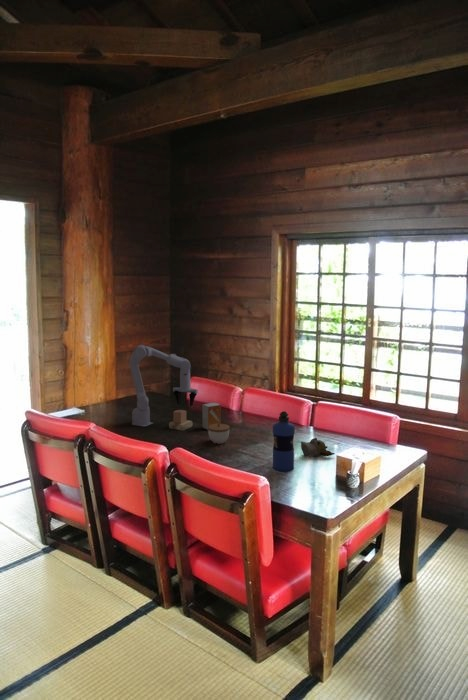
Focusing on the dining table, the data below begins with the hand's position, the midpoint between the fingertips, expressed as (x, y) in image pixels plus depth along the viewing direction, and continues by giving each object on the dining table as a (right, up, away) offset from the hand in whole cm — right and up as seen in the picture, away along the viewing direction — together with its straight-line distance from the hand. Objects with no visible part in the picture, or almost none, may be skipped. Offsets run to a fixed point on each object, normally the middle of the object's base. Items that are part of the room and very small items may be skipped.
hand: (185, 404), depth 296 cm
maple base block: (-2, -12, -7) cm, 14 cm away
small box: (+15, -12, -8) cm, 21 cm away
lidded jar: (+20, -15, -31) cm, 40 cm away
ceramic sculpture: (+65, -18, -51) cm, 85 cm away
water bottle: (+48, -21, -67) cm, 85 cm away
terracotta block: (-2, -8, -8) cm, 12 cm away
